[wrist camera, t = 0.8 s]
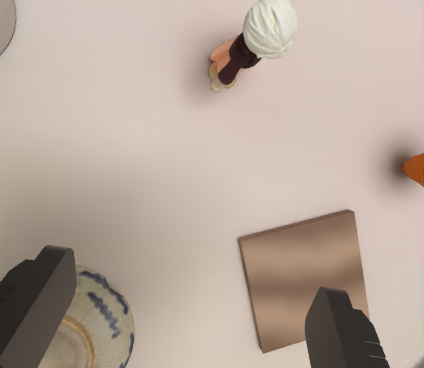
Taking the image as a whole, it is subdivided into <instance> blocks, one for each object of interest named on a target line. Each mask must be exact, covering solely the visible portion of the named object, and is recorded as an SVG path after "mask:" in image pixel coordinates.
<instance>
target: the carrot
mask: <svg viewBox="0 0 424 368" xmlns="http://www.w3.org/2000/svg"><path fill="white" fill-rule="evenodd" d="M402 168H403V172H404V173H405V174H406V175H407V176H409V177H410V178H412V179H413V180H414V181H416V182H418V183H419V184H421V185H422V186H424V153H423V154H420V155H417V156H415V157H413V158H411V159H409V160H408V161H407V162H405V163H404V165H403V166H402Z"/></svg>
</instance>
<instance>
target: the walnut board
mask: <svg viewBox="0 0 424 368" xmlns="http://www.w3.org/2000/svg"><path fill="white" fill-rule="evenodd" d="M238 239H239V244H240V249H241V254H242V259H243V264H244V269H245V274H246V279H247V284H248V289H249V294H250V299H251V304H252V309H253V314H254V319H255V324H256V330H257V335H258V340H259V345H260V348H261V350H262V352H263V354H264V353H267V352H270V351H273V350H276V349H280V348H283V347H286V346H289V345H292V344H295V343H299V342H302V341H305V340H306V337H305V319H306V315H307V313H308V311H309V309H310V306H311V304H312V302H313V300H314V298H315V296H316V293H317V291H318V289H319V288H320V287H328V288H334V289H341V290H345V291H346V292H347V293H348V295H349V298H350V301H351V304H352V307H353V309H359V310H362V311H363V313H364V314H365V315H366V317H367V318H368V319H369V312H368V305H367V298H366V291H365V284H364V277H363V270H362V263H361V256H360V249H359V242H358V235H357V228H356V221H355V214H354V211H351V210H345V211H342V212H338V213H334V214H330V215H326V216H322V217H318V218H314V219H310V220H307V221H303V222H299V223H295V224H291V225H287V226H283V227H279V228H275V229H272V230H268V231H264V232H260V233H256V234H252V235H248V236H244V237H240V238H238ZM369 320H370V319H369Z"/></svg>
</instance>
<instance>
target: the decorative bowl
mask: <svg viewBox="0 0 424 368" xmlns="http://www.w3.org/2000/svg"><path fill="white" fill-rule="evenodd" d="M75 267H76V276H77V287H76V292H75V295H74V298H73V300H72V302H71V304H70V306H69V308H68V310H67V312H66V314H65V316H64V318H63V319H62V321H61V323H60V325H59V327H58V329H57V331H56V333H55V335H54V337H53V339H52V341H51V343H50V345H49V347H48V349H47V351H46V352H45V354H44V356H43V358H42V360H41V362H40V364H39V366H38V368H125V367H126V365H127V363H128V360H129V358H130V355H131V352H132V348H133V343H134V321H133V317H132V313H131V310H130V308H129V305H128V303H127V301H126V300H125V298H124V297H123V296H120V295H119V294H116V293H115V292H113V291H111V290H110V289H109V287H108V285H107V281H106V279H105V277H104V276H102V275H101V274H99V273H98V272H95V271H94V270H91V269H89V268H86V267H83V266H79V265H75Z"/></svg>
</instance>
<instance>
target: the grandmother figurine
mask: <svg viewBox="0 0 424 368" xmlns="http://www.w3.org/2000/svg"><path fill="white" fill-rule="evenodd" d="M296 29H297V16H296V12H295V10H294V7H293V5H292V4H291V2H290V0H260V1H259V2H257V3H256V4H255V5H254V6H253V7H252V8H251V9H250V10H249V11H248V13H247V15H246V17H245V21H244V26H243V32H242V33H241V34H240V35H238V36H237V37H235V38H233V39H231V40H229V41H228V42H226V43H224V44H222V45H220V46H219V47H218V48H216V49H215V50H214V51H213V52H212V53H211V55H210V60H212V61H214V62H213V63H212V64H211V65H210V67H209V69H208V74H209V76H210V78H211V79H212V81H211V82H210V89H211V90H212V91H213V92H215V93H217V92H220V91H221V90H222V89H223V88H224V87H225V88H230V87H232V86H233V85H234V83H235V82H236V76H237V75H238V74H239V73H240V71H242V70H244V69H246V68H250V67H253V66H255V65H256V64H257V63H258V62H259V61H260V60H261V59H262V58H264V57H265V58H267V59H276V58H280V57H281V56H282V55H283V54H284V53H285V52H287V51H288V50H289V49H290V48H291V46H292V45H293V42H294V37H295V33H296Z"/></svg>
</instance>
